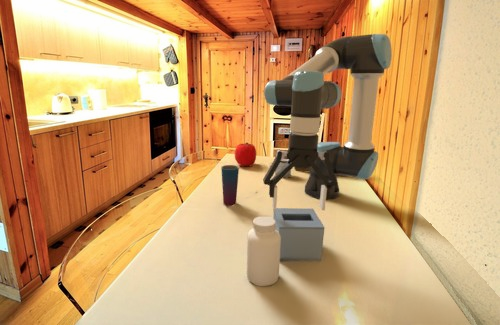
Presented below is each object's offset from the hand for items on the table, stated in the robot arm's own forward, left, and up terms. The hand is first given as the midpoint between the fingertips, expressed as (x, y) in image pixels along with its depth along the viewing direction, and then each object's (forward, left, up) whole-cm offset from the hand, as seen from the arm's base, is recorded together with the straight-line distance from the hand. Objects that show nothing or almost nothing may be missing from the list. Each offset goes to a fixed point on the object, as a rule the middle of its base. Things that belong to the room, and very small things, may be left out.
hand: (298, 208), depth 80 cm
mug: (-6, -72, -13) cm, 73 cm away
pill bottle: (+11, +13, -13) cm, 21 cm away
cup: (+20, -33, -13) cm, 41 cm away
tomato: (+12, -92, -13) cm, 94 cm away
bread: (-31, -83, -13) cm, 89 cm away
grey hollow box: (0, 0, -13) cm, 13 cm away
